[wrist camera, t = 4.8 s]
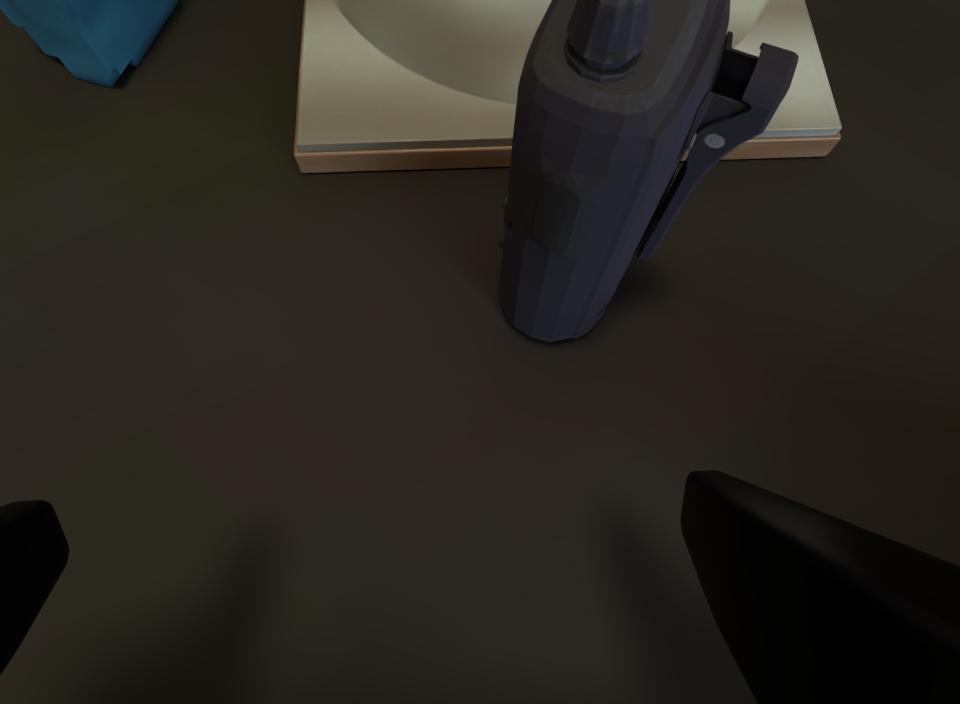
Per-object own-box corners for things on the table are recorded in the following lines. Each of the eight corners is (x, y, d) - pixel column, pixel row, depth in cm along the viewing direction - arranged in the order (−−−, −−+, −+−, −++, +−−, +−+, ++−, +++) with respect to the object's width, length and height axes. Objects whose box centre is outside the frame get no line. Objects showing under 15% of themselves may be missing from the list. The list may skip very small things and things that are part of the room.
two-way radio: (544, 190, 21) (692, -619, 7) (671, 236, 20) (1125, -540, 6) (480, 330, 19) (496, -361, 5) (616, 385, 19) (1074, -217, 4)
